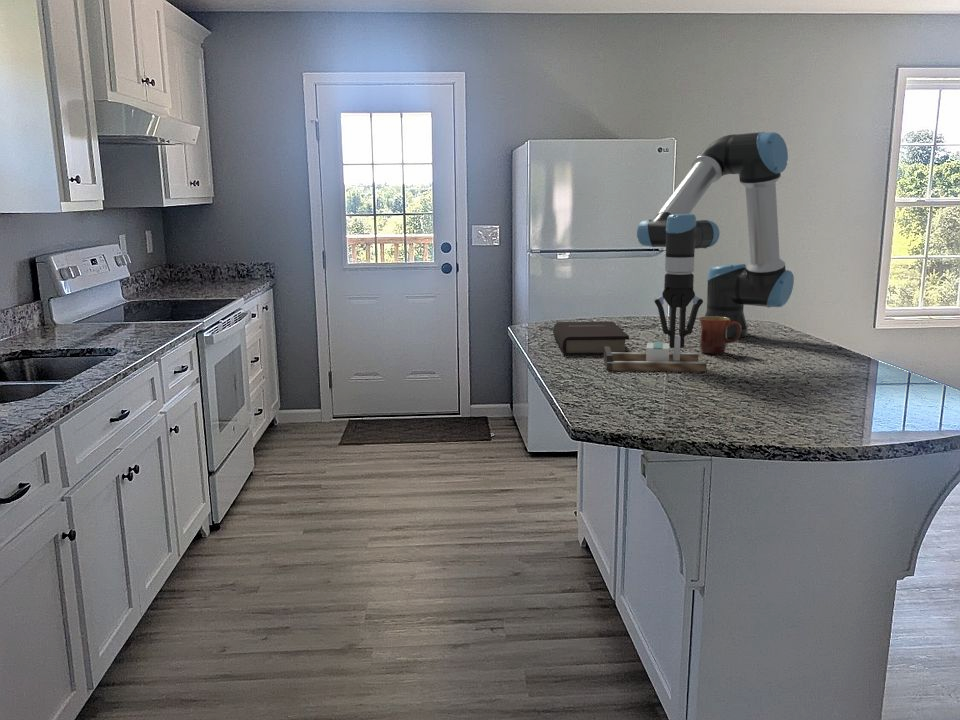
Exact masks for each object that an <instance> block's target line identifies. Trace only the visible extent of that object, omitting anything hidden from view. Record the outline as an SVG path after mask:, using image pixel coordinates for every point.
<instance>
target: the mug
mask: <svg viewBox="0 0 960 720" xmlns="http://www.w3.org/2000/svg"><path fill="white" fill-rule="evenodd" d="M698 322H699V325H700V327H701V334H700V337H699V339H700V340H699V348H700V349H699V350H700V352H701V353H703V354H705V355H711V356H712V355H713V356H714V355H715V356H717V355H723V354H724V353H725V352H726V349H727V344H730V343H734V342H735V341H737V340H739V336H740V334H741V325H740V323H738V322H735V321H730V318H727V317H719V316H705V315H704V316H701V317H698ZM733 324H735V325H737V326H738V332H737V335H736V337H735V338H727V327H728V326H730V325H733Z"/></svg>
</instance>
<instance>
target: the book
mask: <svg viewBox="0 0 960 720" xmlns="http://www.w3.org/2000/svg"><path fill="white" fill-rule="evenodd" d="M553 325H554V326H553V329H552V330H553V331H552V333H553V337H554V340H555V341H556V343H557V345H558V346H559V348H560V349H561V351H562V353H563V355H565V356H568V355H569V356H604V346H609V347H610V350H611V352H628V350H627V349H626V340H630V335H628V334H627V332H625V331H624V330H623V329H622V328H620V326H618V324H617V323H615V322H614V321H607V320H606V321H604V320H603V321H559V322H558V321H557V322H556V323H555V324H553ZM569 356H568V357H569Z"/></svg>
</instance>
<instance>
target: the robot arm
mask: <svg viewBox="0 0 960 720" xmlns="http://www.w3.org/2000/svg"><path fill="white" fill-rule="evenodd" d="M788 153H789V152H788V147H787V143H786V142H785V140H784V138H783V136H782V135H780V134H779V133H778V132H770V131H769V132H768V131H767V132H765V131H761V132H760V131H759V132H749V133H739V134H735V133H734V134H728V135H725V136H722V137H720V138H717V139H716V140H714V141H713V142H711V143H710V144H708V145H707V146H706V147H705V148H703V149H702V150H701V151H700V152H699V153H698V155H696V157H695V158H694V159H693V161H692V163H691V165H690V166H691V168H690V170H689V171H688V172H687V174H686V175H685V177H684V178H683V179H682V181H681V182H680V183H679V185H678V186H677V187H676V189H675V190H674V191H673V192H672V194H671V195H670V196H669V198H668V199H667V201H666V202H665V203H664V204H663V206H662V207H660V210H659V211H658V212H657V213H656V215H655V216H654V217H653V218H652V219H644V220H642V221H640V222H639V224H638V226H637V230H636V238H637V241H638V243H639V244H640V245H641V246H644V247H652V248H665V264H664V271H665V272H666V273H665V274H664V282H663V283H664V286H663V287H664V289H663V291H662V293H661V295H660V296H659V297H657V298H654V299H653V302H654V304H655V305H656V307H657V310H658V316H659V320H660V324H661V328H662V332H663V334H665V335H668V336H669V338H668V339H669V342H668V343H669V349H670V348H671V349H672V353H673V360H674V361H680V353H681V349H684V347H685V337H686V336H687V335H691V334H692V333H693V329H694V325H695V323H696V318H697V315H698V312H699V308H700V307H701V306H702V304H703V303H704V300H703V299H702V298H701V297H698V296H696V293H695V291H694V281H695V280H694V277H695V275H694V274H693V272H694V271H695V252H696V251H695V249H707V248H711V247H713V246H714V245H716V243H717V242H718V241H719V238H720V233H721V232H720V228H719V227H718V224H716V222H714V221H712V220H710V219H709V220H707V219H701V220H697V218H696V215H695V214H694V213H692V211H693V209H694V208H695V207H696V206H697V204H698V203H699V202H700V200H701V199H702V198H703V196H704V195H705V194H706V192H707V191H708V190H709V188H710V187H711V185H712V184H715V183H716V182H718V181H719V180H720V179H721V177H723V176H725V175H738V176H739V183H741V184H742V185H743V186H744V187H745V198H746V200H745V201H746V212H747V213H746V214H747V230H748V231H747V232H748V243H749V256H750V257H749V258H750V261H749V262H748V263H747V264H746V263H735V264H726V265H725V264H724V265H717V266H715V265H714V266H712V267H710V268H709V270H708V275H707V292H706V293H707V294H706V312H705V314H704V317H705V316H719V317H727V318H730V321H735V322H738V323H740V325H741V334H740V336H739V338H745V337H747V336H748V335H749V334H748V333H749V327H748V325H747V321H746V317H745V314H744V305H745V306H753V307H755V306H756V307H765V308H769V309H770V308H781V307H783V306H785V305H786V304H787V303H788V302H789V299H790V297H791V295H792V292H793V289H794V283H795V282H794V281H795V280H794V279H795V277H794V274H793V272H792V271H791V270H788V269H786V262H785V261H784V260H783V259H781V258H780V257H781V256H780V241H779V239H780V238H779V237H780V236H779V223H778V222H779V221H778V220H779V219H778V205H777V187H776V186H777V184H776V183H777V181H778V180H779V179H781V175H782V174H781V173H783V172H784V171H785V170H786V168H787V165H788V160H789V156H788ZM664 300H665V302H666V303H667V305H668V306H669V327H668V323H667V320H666V319H667V318H666V314H665V308H664V306H663V305H664V303H665V302H664ZM691 302H692V307H691V311H690V315H689V318H688V321H687V326H686V317H687V315H686V314H687V313H686V312H687V307H688V306H689V304H690V303H691ZM677 308H679V322H678V325H679V326H678V335H677V334H676V324H677V323H676V320H677V319H676V318H677ZM668 328H669V329H668ZM699 330H700V331H699V332H700V333H699V334H700V335H701V326H700V328H699ZM737 332H738V326H737V325H735V324H733V325H730V326H728V327H727V338H728V339H733V338H735V337H736V335H737ZM739 338H738V339H739Z"/></svg>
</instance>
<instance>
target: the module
mask: <svg viewBox="0 0 960 720" xmlns="http://www.w3.org/2000/svg"><path fill="white" fill-rule="evenodd" d="M645 349H646V351H645V353H646V361H669V353H670V346H669V342H668V343H665V342H663V341H662V342H658V341H654V342H647V343H646V348H645Z"/></svg>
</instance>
